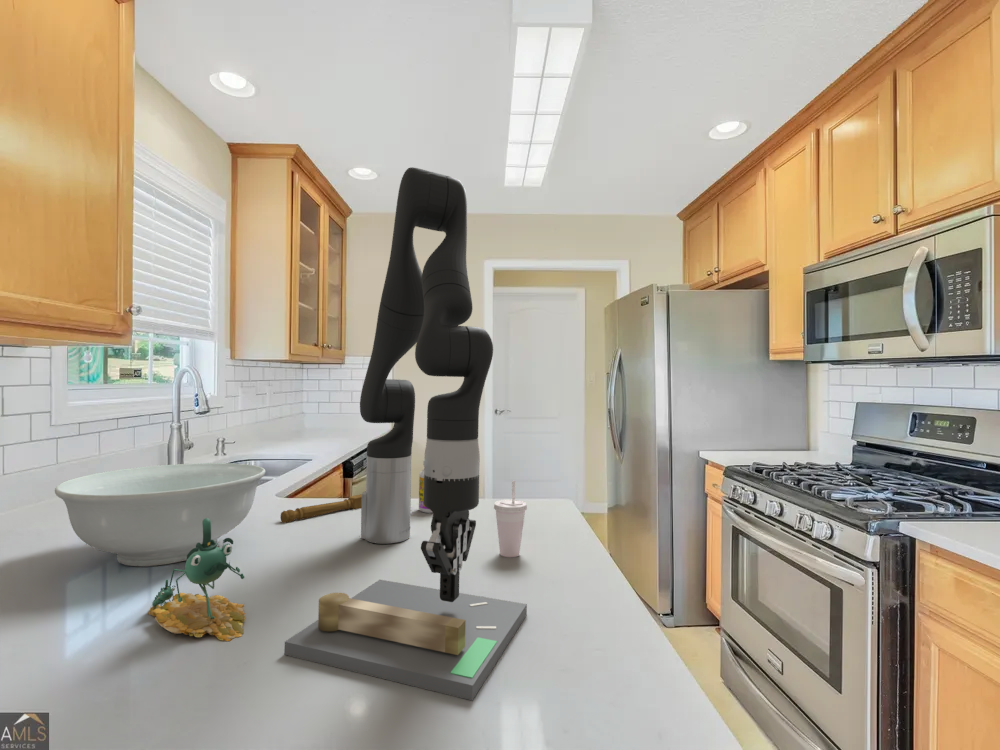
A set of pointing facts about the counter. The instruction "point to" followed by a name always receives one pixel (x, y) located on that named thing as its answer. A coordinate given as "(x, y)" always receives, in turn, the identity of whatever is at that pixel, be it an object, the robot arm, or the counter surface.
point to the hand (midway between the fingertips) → (449, 599)
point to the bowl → (158, 508)
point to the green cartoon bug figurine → (198, 610)
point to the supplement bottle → (422, 493)
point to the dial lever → (391, 623)
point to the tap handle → (321, 509)
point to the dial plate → (412, 664)
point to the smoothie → (510, 524)
